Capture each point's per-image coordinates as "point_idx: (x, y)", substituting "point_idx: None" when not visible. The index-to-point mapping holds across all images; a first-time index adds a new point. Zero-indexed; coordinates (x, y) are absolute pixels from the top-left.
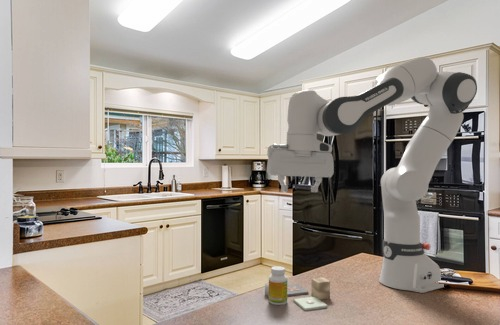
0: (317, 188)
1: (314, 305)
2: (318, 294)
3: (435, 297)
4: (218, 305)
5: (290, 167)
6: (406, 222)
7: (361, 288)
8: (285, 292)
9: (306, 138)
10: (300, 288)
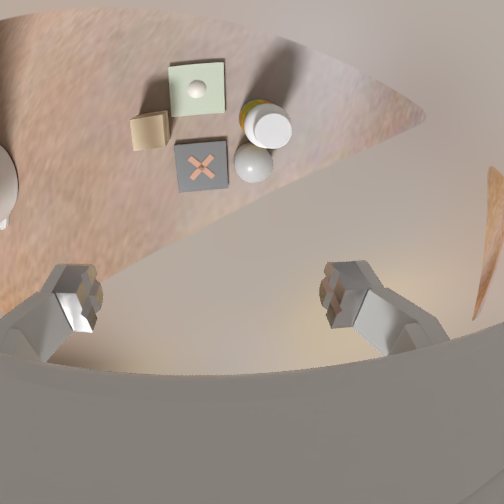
0: (49, 278)
1: (196, 71)
2: (165, 111)
3: None
4: (367, 138)
5: (436, 443)
6: None
7: (56, 160)
8: (252, 103)
9: None
10: (183, 167)
